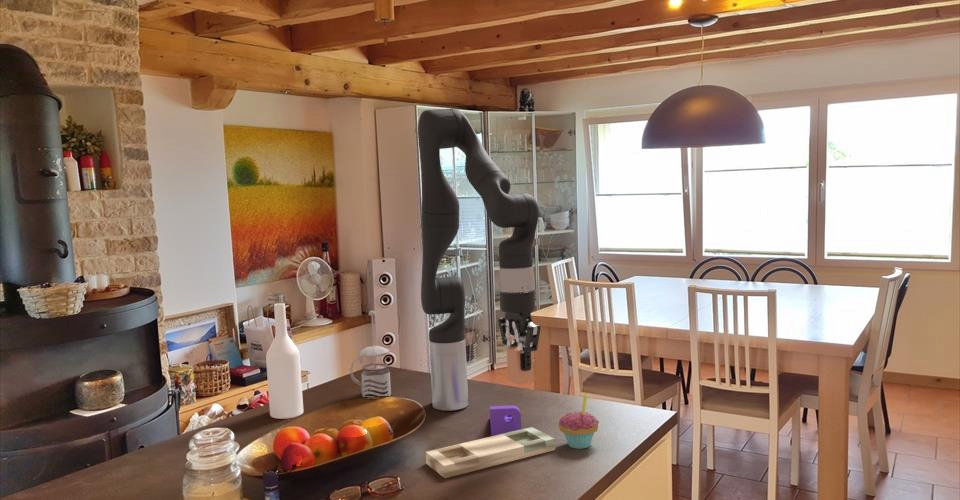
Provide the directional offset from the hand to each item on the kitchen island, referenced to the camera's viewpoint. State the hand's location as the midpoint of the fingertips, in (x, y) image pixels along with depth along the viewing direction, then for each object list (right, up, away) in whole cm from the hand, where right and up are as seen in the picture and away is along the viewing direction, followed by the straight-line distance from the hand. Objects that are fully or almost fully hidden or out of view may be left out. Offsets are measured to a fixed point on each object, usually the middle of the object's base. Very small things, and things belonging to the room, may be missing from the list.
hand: (520, 367), depth 148 cm
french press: (-37, -16, +41) cm, 58 cm away
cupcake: (+13, -17, +2) cm, 22 cm away
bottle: (-57, -18, +27) cm, 66 cm away
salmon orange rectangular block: (0, -3, 0) cm, 3 cm away
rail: (-6, -18, -2) cm, 19 cm away
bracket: (-3, -17, +15) cm, 23 cm away
